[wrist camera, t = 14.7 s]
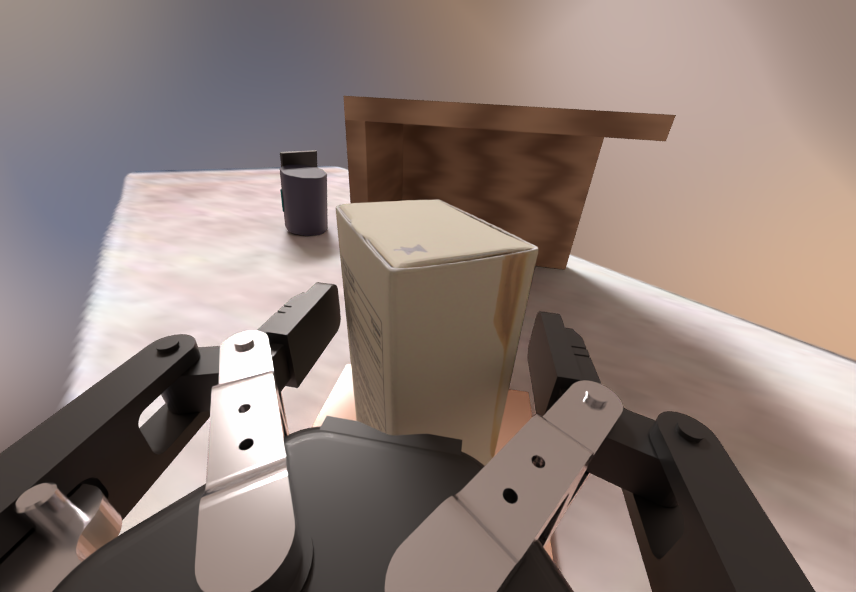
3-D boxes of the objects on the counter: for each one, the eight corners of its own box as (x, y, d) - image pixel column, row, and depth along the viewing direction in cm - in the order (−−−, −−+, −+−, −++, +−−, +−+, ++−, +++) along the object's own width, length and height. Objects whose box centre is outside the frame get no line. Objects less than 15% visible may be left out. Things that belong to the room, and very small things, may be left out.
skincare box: (486, 510, 14) (556, 250, 8) (393, 557, 13) (392, 275, 6) (426, 403, 19) (441, 193, 13) (353, 426, 18) (332, 198, 11)
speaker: (279, 221, 48) (271, 147, 43) (318, 219, 51) (315, 149, 46) (290, 243, 43) (282, 162, 38) (332, 239, 46) (331, 163, 41)
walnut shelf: (562, 264, 41) (605, 114, 32) (594, 327, 29) (675, 115, 20) (393, 245, 43) (393, 102, 35) (356, 296, 31) (343, 95, 23)
